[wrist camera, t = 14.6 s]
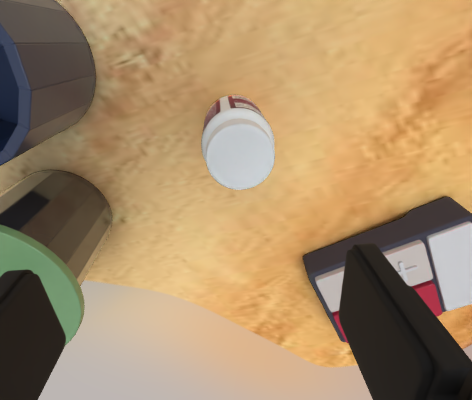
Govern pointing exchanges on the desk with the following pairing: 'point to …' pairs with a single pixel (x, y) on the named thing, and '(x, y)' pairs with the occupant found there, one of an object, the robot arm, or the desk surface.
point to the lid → (44, 275)
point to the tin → (40, 74)
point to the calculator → (407, 258)
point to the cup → (59, 216)
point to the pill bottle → (237, 143)
